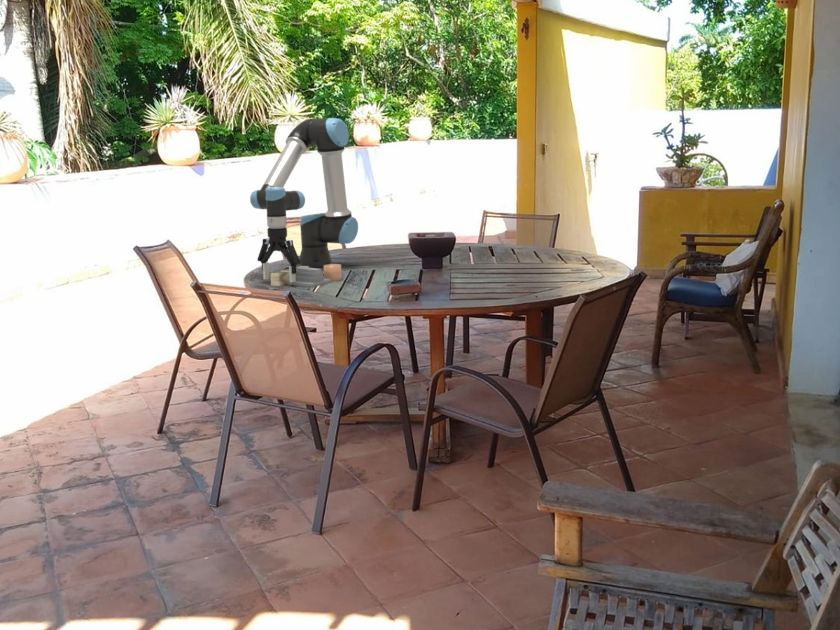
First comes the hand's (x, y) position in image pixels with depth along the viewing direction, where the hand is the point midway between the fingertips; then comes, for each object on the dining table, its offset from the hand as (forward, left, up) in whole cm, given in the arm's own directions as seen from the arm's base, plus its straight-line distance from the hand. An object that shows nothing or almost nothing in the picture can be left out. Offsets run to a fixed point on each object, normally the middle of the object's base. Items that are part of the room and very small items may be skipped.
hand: (279, 280), depth 320 cm
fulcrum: (-6, +10, -1) cm, 12 cm away
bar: (-6, 0, -2) cm, 7 cm away
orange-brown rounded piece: (-17, +13, -1) cm, 22 cm away
